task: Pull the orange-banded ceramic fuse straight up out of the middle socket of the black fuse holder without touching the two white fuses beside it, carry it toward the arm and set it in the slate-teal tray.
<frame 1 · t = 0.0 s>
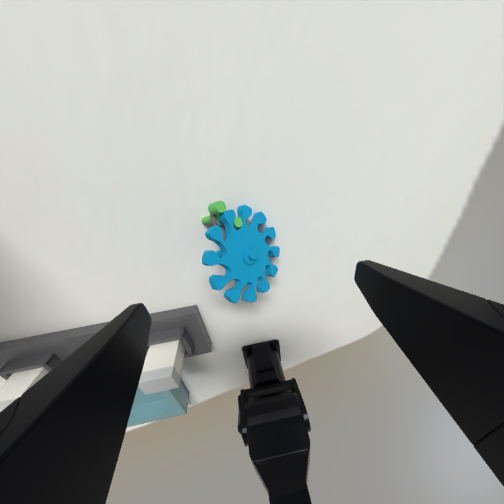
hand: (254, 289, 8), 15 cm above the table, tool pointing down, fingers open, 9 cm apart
tray: (145, 383, 35), on the table
fuse holder: (112, 344, 29), on the table
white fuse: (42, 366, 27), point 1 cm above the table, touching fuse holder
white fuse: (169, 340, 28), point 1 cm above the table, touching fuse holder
gear: (240, 234, 23), on the table
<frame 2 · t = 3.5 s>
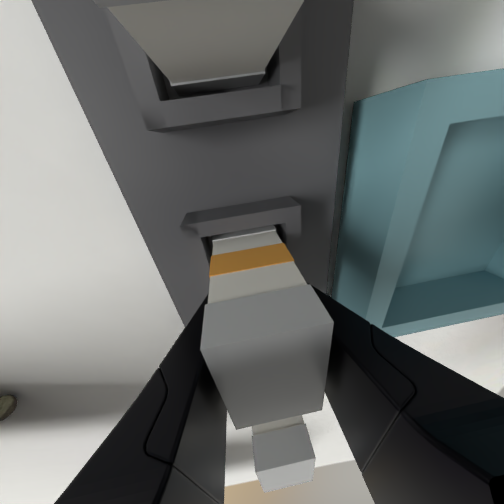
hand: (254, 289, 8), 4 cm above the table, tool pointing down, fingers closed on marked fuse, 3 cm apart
marked fuse: (247, 260, 10), point 1 cm above the table, touching fuse holder, gripper
tray: (434, 212, 12), on the table
fuse holder: (244, 247, 11), on the table
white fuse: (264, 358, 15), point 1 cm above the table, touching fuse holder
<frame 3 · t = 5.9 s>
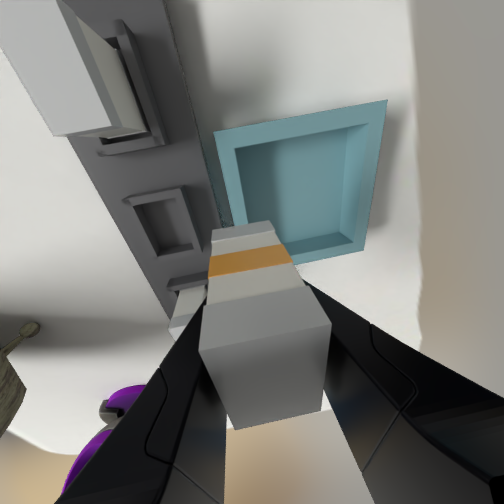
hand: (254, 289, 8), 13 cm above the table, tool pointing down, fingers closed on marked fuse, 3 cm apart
marked fuse: (247, 261, 10), point 11 cm above the table, touching gripper
tray: (291, 194, 19), on the table
fuse holder: (173, 217, 19), on the table
webcam: (145, 401, 35), on the table
when the fingers open (5 cm above the table, at t = 8.4 s): marked fuse drops 1 cm, resting on tray.
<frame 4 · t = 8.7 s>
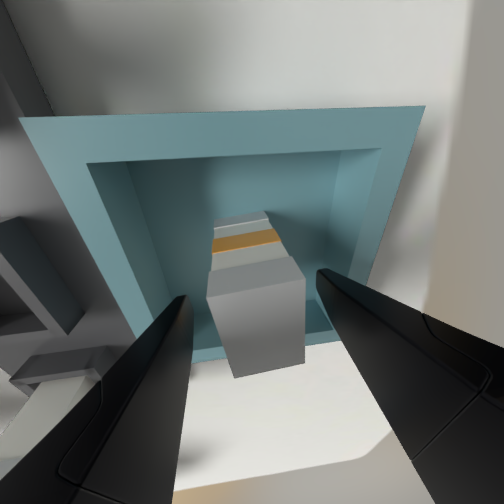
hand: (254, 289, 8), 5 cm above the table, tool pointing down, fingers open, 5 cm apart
marked fuse: (245, 247, 11), point 1 cm above the table, touching tray
tray: (243, 241, 12), on the table
fuse holder: (33, 261, 11), on the table
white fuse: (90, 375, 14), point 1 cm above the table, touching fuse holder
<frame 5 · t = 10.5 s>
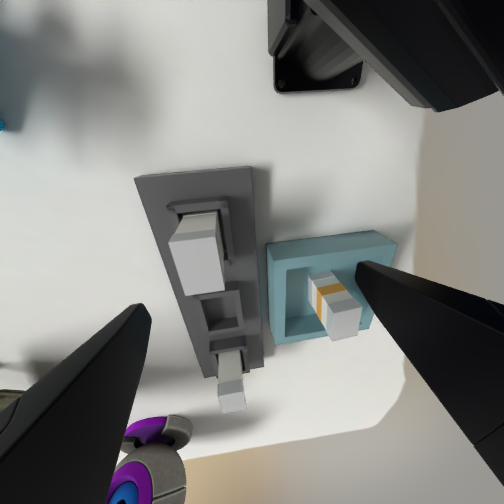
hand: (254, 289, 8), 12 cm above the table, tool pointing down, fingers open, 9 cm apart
marked fuse: (318, 285, 23), point 1 cm above the table, touching tray
tray: (315, 281, 24), on the table
fuse holder: (220, 295, 23), on the table
webcam: (158, 429, 38), on the table
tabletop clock: (40, 378, 26), on the table
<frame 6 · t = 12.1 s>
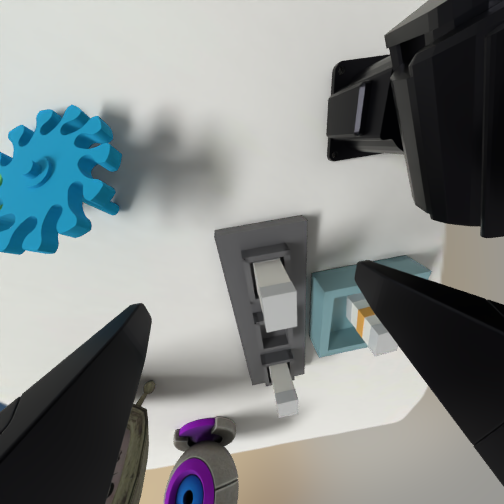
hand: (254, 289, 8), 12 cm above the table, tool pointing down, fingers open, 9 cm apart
marked fuse: (355, 304, 26), point 1 cm above the table, touching tray
tray: (352, 299, 27), on the table
fuse holder: (269, 316, 27), on the table
webcam: (206, 429, 42), on the table
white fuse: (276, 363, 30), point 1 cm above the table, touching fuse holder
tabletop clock: (115, 389, 30), on the table
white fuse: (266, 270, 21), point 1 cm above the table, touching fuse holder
gear: (80, 172, 16), on the table
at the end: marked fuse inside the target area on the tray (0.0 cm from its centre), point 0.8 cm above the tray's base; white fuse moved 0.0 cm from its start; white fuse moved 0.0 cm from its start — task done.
